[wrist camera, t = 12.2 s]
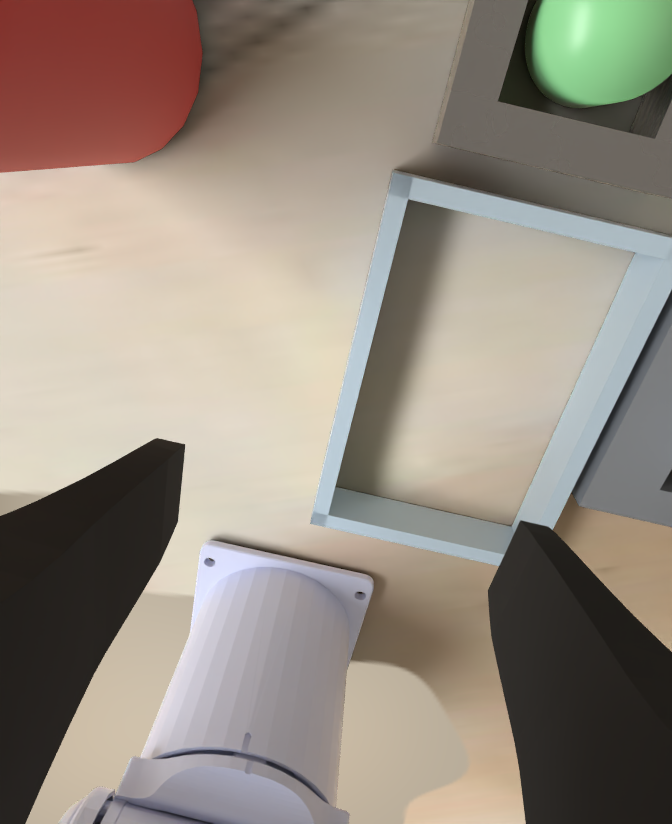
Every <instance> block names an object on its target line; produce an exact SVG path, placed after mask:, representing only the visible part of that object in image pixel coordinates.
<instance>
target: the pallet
mask: <svg viewBox="0 0 672 824" xmlns="http://www.w3.org/2000/svg"><path fill="white" fill-rule="evenodd" d="M572 494H573V496H574V498H575V500H576V502H577V503H578V505H579V506H580V507H585V508H589V509H594V510H598V511H602V512H607V513H611V514H616V515H620V516H624V517H629V518H633V519H638V520H642V521H647V522H651V523H655V524H660V525H664V526H669V527H672V290H671V292H670V294H669V296H668V298H667V300H666V302H665V304H664V306H663V308H662V310H661V312H660V314H659V316H658V318H657V320H656V322H655V324H654V326H653V328H652V330H651V332H650V334H649V336H648V338H647V340H646V342H645V344H644V346H643V348H642V350H641V352H640V354H639V357H638V359H637V361H636V363H635V365H634V367H633V369H632V371H631V373H630V375H629V377H628V379H627V381H626V383H625V385H624V387H623V389H622V391H621V393H620V395H619V397H618V399H617V401H616V403H615V405H614V407H613V409H612V411H611V413H610V415H609V417H608V419H607V421H606V423H605V425H604V427H603V429H602V431H601V433H600V435H599V437H598V439H597V441H596V443H595V445H594V447H593V449H592V451H591V453H590V455H589V457H588V459H587V461H586V464H585V466H584V468H583V470H582V472H581V474H580V476H579V478H578V480H577V482H576V484H575V486H574V488H573V490H572Z"/></svg>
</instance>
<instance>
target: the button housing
mask: <svg viewBox="0 0 672 824" xmlns="http://www.w3.org/2000/svg"><path fill="white" fill-rule="evenodd" d="M527 2H528V0H469V3H468V7H467V10H466V14H465V18H464V22H463V26H462V30H461V33H460V37H459V41H458V45H457V49H456V53H455V56H454V60H453V64H452V68H451V72H450V76H449V79H448V83H447V87H446V91H445V95H444V99H443V102H442V106H441V110H440V114H439V118H438V122H437V125H436V129H435V133H434V137H433V141H432V143H435V144H439V145H444V146H448V147H452V148H456V149H461V150H465V151H469V152H473V153H477V154H482V155H486V156H490V157H494V158H499V159H503V160H507V161H511V162H516V163H520V164H524V165H528V166H532V167H537V168H541V169H545V170H549V171H554V172H558V173H562V174H566V175H570V176H575V177H579V178H583V179H587V180H592V181H596V182H600V183H604V184H608V185H613V186H617V187H621V188H625V189H630V190H634V191H638V192H642V193H647V194H651V195H656V196H661V197H666V198H671V199H672V74H671V75H670V76H669V77H668V78H666V79H665V80H664V81H663V82H662V83H661V84H659V85H658V86H656V87H655V88H653V89H652V90H650V91H648V92H647V93H645V95H644V97H643V100H642V102H641V104H640V107H639V109H638V112H637V114H636V117H635V119H634V122H633V124H632V127H631V129H630V132H629V133H628V132H624V131H620V130H616V129H611V128H607V127H603V126H599V125H595V124H590V123H586V122H582V121H578V120H574V119H570V118H565V117H561V116H557V115H553V114H549V113H544V112H540V111H536V110H532V109H528V108H523V107H519V106H515V105H511V104H507V103H502V102H498V99H499V96H500V92H501V89H502V86H503V82H504V79H505V76H506V72H507V69H508V66H509V62H510V59H511V56H512V52H513V49H514V46H515V42H516V39H517V36H518V32H519V29H520V26H521V22H522V19H523V16H524V12H525V9H526V6H527Z"/></svg>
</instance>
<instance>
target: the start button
mask: <svg viewBox="0 0 672 824" xmlns="http://www.w3.org/2000/svg"><path fill="white" fill-rule="evenodd" d="M525 57H526V62H527V67H528V70H529V73H530V76H531V78H532V80H533V81H534V83H535V85H536V86H537V88H538V89H539V90H540V91H541V92H542V93H543V94H544V95H545V96H546V97H547V98H549V99H550V100H551V101H553V102H555V103H557V104H559V105H562V106H565V107H571V108H588V107H594V106H600V105H606V104H612V103H617V102H623V101H627V100H630V99H633V98H636V97H638V96H641V95H643V94H645V93H647V92H648V91H650V90H652V89H653V88H655V87H656V86H658V85H659V84H661V83H662V82H663V81H664V80H665V79H666V78H668V77H669V76H670V75H671V74H672V0H537V1H536V3H535V5H534V7H533V9H532V12H531V15H530V18H529V21H528V25H527V29H526V36H525Z"/></svg>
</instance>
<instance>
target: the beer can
mask: <svg viewBox="0 0 672 824" xmlns="http://www.w3.org/2000/svg"><path fill="white" fill-rule="evenodd" d="M202 55H203V53H202V46H201V39H200V32H199V25H198V18H197V11H196V8H195V6H194V4H193V1H192V0H0V173H2V172H15V171H28V170H40V169H53V168H66V167H79V166H92V165H104V164H117V163H130V162H136V161H138V160H140V159H142V158H144V157H146V156H148V155H150V154H152V153H154V152H157V151H159V150H161V149H162V148H163V147H164V146H165V145H166V144H167V143H168V142H169V141H170V140H171V138H172V137H173V136H174V135H175V134H176V133H177V132H178V131H179V130H180V129H181V128H182V127H183V126H184V123H185V121H186V119H187V117H188V114H189V112H190V110H191V107H192V105H193V103H194V101H195V98H196V96H197V94H198V88H199V79H200V71H201V63H202Z"/></svg>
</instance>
